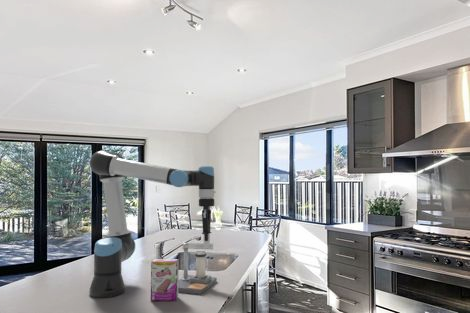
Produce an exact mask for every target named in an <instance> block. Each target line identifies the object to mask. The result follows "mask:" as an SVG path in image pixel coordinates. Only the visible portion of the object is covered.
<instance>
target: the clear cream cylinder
mask: <svg viewBox="0 0 470 313" xmlns="http://www.w3.org/2000/svg"><path fill="white" fill-rule="evenodd" d="M194 255H195V259H196V260H195V261H196V262H195V265H196V266H195V272H196V273H195V275H196V278H197V279H205V275H206V257H207V253H206V250H197V251H196V252H195V254H194Z"/></svg>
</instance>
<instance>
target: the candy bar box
mask: <svg viewBox="0 0 470 313" xmlns="http://www.w3.org/2000/svg"><path fill="white" fill-rule="evenodd" d="M179 261H180V260H179V259H177V258H176V259H175V258H171V259H167V258H166V259H165V258H164V259H163V258H158V259H157V258H154V259H152V261H151V265H150V267H151V268H150V271H151V272H150V301H151V302H155V301H156V302H158V301H159V302H161V301H162V302H165V301H167V302H169V301H170V302H173V301H175V302H176V301H177V300H178V297H179V292H178V280H179V270H180V268H179V267H180V265H179Z"/></svg>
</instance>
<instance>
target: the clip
mask: <svg viewBox="0 0 470 313" xmlns="http://www.w3.org/2000/svg"><path fill="white" fill-rule="evenodd" d="M184 249H188V250H189V249H190V250H214V243H210V248H204V242H203V243H201V242H200V243H199V242H182V250H184Z"/></svg>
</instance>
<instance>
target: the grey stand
mask: <svg viewBox="0 0 470 313" xmlns="http://www.w3.org/2000/svg"><path fill="white" fill-rule="evenodd" d="M188 253H189V249H183V277H181V278H179V279H178V293H180V294H181V293H183V294H191V295H202V294H203V293H204V292H205V291H207V290H208V289H210V287H212V286H213V285H214V284H216V283H217V279H218V278H217V277H213V276H212V275H210V274H209V275H207V274H205V279H197V278H196V274H194V275H193V274H192V275H191V274H189V268H188V267H189V266H188V265H189V261H188V260H189V258H188V257H189V254H188Z"/></svg>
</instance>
